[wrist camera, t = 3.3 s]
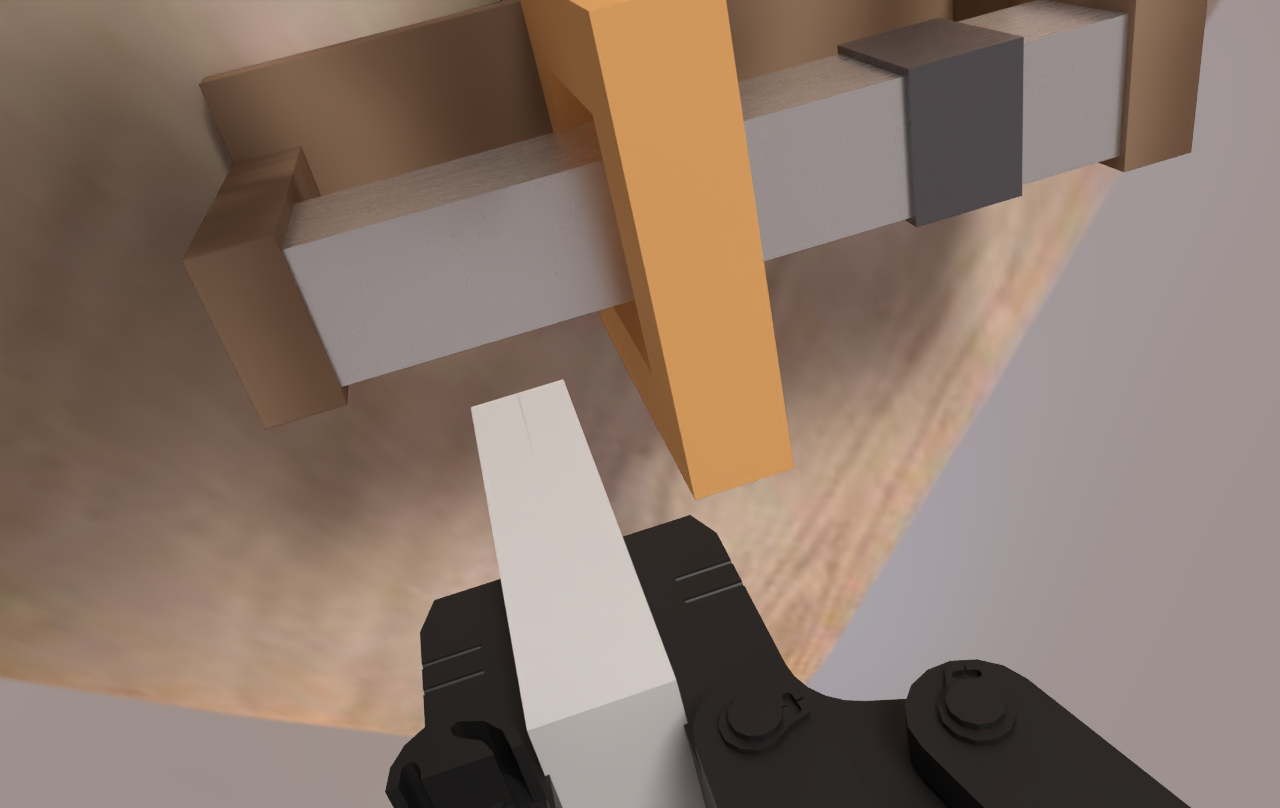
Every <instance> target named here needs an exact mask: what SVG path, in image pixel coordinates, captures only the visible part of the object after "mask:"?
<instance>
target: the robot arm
mask: <svg viewBox="0 0 1280 808" xmlns="http://www.w3.org/2000/svg"><path fill="white" fill-rule="evenodd" d="M471 412H472V418H473V423H474V429H475V435H476V441H477V446H478V452H479V458H480V464H481V469H482V475H483V481H484V486H485V492H486V498H487V504H488V509H489V515H490V521H491V527H492V532H493V538H494V544H495V550H496V555H497V561H498V567H499V573H500V578H501V579H499V580H496V581H493V582H490V583H486V584H483V585H480V586H477V587H474V588H471V589H468V590H465V591H462V592H459V593H456V594H452V595H449V596H446V597H443V598H440V599H437V600H434V602H433V605H432V607H431V609H430V611H429V614H428V616H427V618H426V620H425V623H424V625H423V627H422V629H421V632H420V638H421V657H422V665H423V669H422V677H423V690H424V693H425V695H423V696H424V715H425V728H424V729H422V730H421V731H420V732H419V733H418V734H417V735H416V736H415V737H413V738H412V739H411V740H410V741H409V742H408V743H407V744H406V745H405V746H404V747H403V749H402V750H401V752H400V754H399V755H398V757H397V758H396V760H395V761H394V763H393V765H392V766H391V768H390V772H389V776H388V782H387V786H386V791H385V792H386V794H387V796H388V798H389V800H390V802H391V803H392V805H393V807H394V808H1191V807H1189V806H1188V805H1187V804H1185V803H1184V802H1183V801H1182V800H1180V799H1179V798H1178V797H1176V796H1175V795H1174V794H1173V793H1171V792H1170V791H1169V790H1168V789H1166V788H1165V787H1164V786H1163V785H1161V784H1160V783H1159V782H1158V781H1156V780H1155V779H1154V778H1152V777H1151V776H1150V775H1149V774H1147V773H1146V772H1145V771H1143V770H1142V769H1141V768H1140V767H1138V766H1137V765H1136V764H1135V763H1133V762H1132V761H1131V760H1130V759H1128V758H1127V757H1126V756H1125V755H1123V754H1122V753H1121V752H1119V751H1118V750H1117V749H1116V748H1114V747H1113V746H1112V745H1111V744H1109V743H1108V742H1107V741H1106V740H1104V739H1103V738H1102V737H1100V736H1099V735H1098V734H1096V733H1095V732H1094V731H1093V730H1091V729H1090V728H1089V727H1088V726H1086V725H1085V724H1084V723H1083V722H1081V721H1080V720H1079V719H1077V718H1076V717H1075V716H1074V715H1073V714H1071V713H1070V712H1069V711H1067V710H1066V709H1065V708H1064V707H1062V706H1061V705H1060V704H1058V703H1057V702H1056V701H1055V700H1053V699H1052V698H1051V697H1049V696H1048V695H1047V694H1046V693H1045V692H1043V691H1042V690H1041V689H1039V688H1038V687H1037V686H1036V685H1034V684H1033V683H1032V682H1030V681H1029V680H1028V679H1027V678H1025V677H1023V676H1021V675H1020V674H1018V673H1016V672H1014V671H1012V670H1011V669H1009V668H1007V667H1005V666H1003V665H999V664H994V663H990V662H986V661H981V660H977V659H976V660H959V661H949V662H946V663H944V664H941V665H939V666H936V667H934V668H931V669H929V670H927V671H926V672H925V673H924V674H923V675H922V676H921V677H919V678H918V679H917V680H916V681H915V682H914V683H913V684H912V685H911V688H910V691H909V693H908V696H907V699H897V700H880V701H879V700H877V701H850V700H849V701H847V700H841V699H837V698H833V697H829V696H825V695H823V694H820V693H819V692H816V691H814V690H812V689H810V688H808V687H807V686H806V685H804V684H803V683H802V682H801V681H799V680H798V679H797V678H796V677H795V676H794V675H793V674H792V672H791V671H790V670H789V668H788V667H787V665H786V664H785V662H784V660H783V658H782V657H781V655H780V653H779V651H778V649H777V647H776V645H775V643H774V641H773V639H772V637H771V636H770V634H769V632H768V630H767V628H766V626H765V624H764V622H763V620H762V618H761V617H760V615H759V613H758V611H757V609H756V607H755V605H754V603H753V601H752V599H751V598H750V596H749V594H748V592H747V590H746V588H745V586H743V584H742V581H741V579H740V577H739V575H738V573H737V571H736V569H735V567H734V565H733V564H732V563H731V560H730V558H729V556H728V554H727V552H726V550H725V548H724V546H723V544H722V542H721V540H720V539H719V537H718V535H717V533H716V532H714V531H713V530H711V529H710V528H708V527H707V526H705V525H704V524H703V523H701V522H700V521H698V520H697V519H695V518H694V517H692V516H691V515H689V516H686V517H682V518H679V519H676V520H673V521H670V522H667V523H664V524H661V525H658V526H655V527H652V528H648V529H645V530H642V531H639V532H636V533H633V534H630V535H627V536H624V537H622V534H621V531H620V529H619V526H618V523H617V521H616V518H615V515H614V513H613V510H612V507H611V505H610V502H609V500H608V497H607V494H606V492H605V489H604V486H603V484H602V481H601V478H600V476H599V473H598V470H597V468H596V465H595V462H594V460H593V457H592V454H591V452H590V449H589V446H588V444H587V441H586V438H585V436H584V433H583V430H582V428H581V425H580V422H579V420H578V417H577V414H576V412H575V409H574V406H573V404H572V401H571V398H570V396H569V393H568V390H567V388H566V385H565V382H564V380H563V379H562V380H559V381H556V382H552V383H549V384H546V385H542V386H539V387H536V388H533V389H529V390H526V391H523V392H519V393H516V394H513V395H509V396H506V397H503V398H500V399H496V400H493V401H490V402H486V403H483V404H480V405H476V406H473V407H471Z"/></svg>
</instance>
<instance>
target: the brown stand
mask: <svg viewBox="0 0 1280 808" xmlns="http://www.w3.org/2000/svg"><path fill="white" fill-rule="evenodd" d="M1032 1H1035V0H726V3H727V10H728V17H729V24H730V31H731V38H732V45H733V51H734V58H735V65H736V72H737V79H738V82H740V81H744V80H747V79H751V78H755V77H758V76H762V75H765V74H769V73H773V72H776V71H780V70H784V69H787V68H791V67H795V66H798V65H802V64H806V63H809V62H813V61H817V60H820V59H824V58H827V57H831V56H835V55H838V49H837V45H840V44H843V43H847V42H851V41H854V40H858V39H862V38H865V37H869V36H873V35H876V34H880V33H884V32H887V31H891V30H895V29H898V28H902V27H906V26H909V25H913V24H917V23H920V22H924V21H928V20H931V19H935V18H942V19H947V20H951V21H955V22H959V21H962V20H966V19H970V18H973V17H977V16H981V15H984V14H988V13H992V12H995V11H999V10H1002V9H1006V8H1010V7H1013V6H1017V5H1021V4H1024V3H1028V2H1032ZM1050 1H1056V2H1063V3H1069V4H1075V5H1081V6H1087V7H1093V8H1100V9H1106V10H1112V11H1118V12H1124V13H1130V16H1129V31H1128V46H1127V61H1126V76H1125V91H1124V106H1123V121H1122V136H1121V150H1120V156H1118V157H1114V158H1111V159H1108V160H1104V161H1101V162H1098V163H1101V164H1104V165H1106V166H1109V167H1112V168H1114V169H1117V170H1120V171H1122V172H1127V171H1130V170H1133V169H1136V168H1140V167H1143V166H1147V165H1150V164H1153V163H1157V162H1160V161H1163V160H1167V159H1170V158H1173V157H1177V156H1180V155H1184V154H1186V153H1190V152H1191V148H1192V139H1193V129H1194V119H1195V111H1196V102H1197V91H1198V82H1199V73H1200V64H1201V55H1202V46H1203V36H1204V27H1205V18H1206V8H1207V0H1050ZM199 86H200V88H201V90H202V93H203V95H204V97H205V99H206V102H207V104H208V106H209V109H210V111H211V113H212V115H213V118H214V120H215V122H216V124H217V127H218V129H219V131H220V134H221V136H222V138H223V140H224V143H225V145H226V147H227V149H228V152H229V154H230V156H231V159H232V161H233V163H234V164H233V166H232V168H231V170H230V171H229V173H228V175H227V177H226V179H225V181H224V183H223V185H222V187H221V188H220V190H219V192H218V194H217V196H216V198H215V200H214V202H213V204H212V205H211V207H210V209H209V211H208V213H207V215H206V217H205V219H204V221H203V222H202V224H201V226H200V228H199V230H198V232H197V234H196V236H195V238H194V239H193V241H192V243H191V245H190V247H189V249H188V251H187V253H186V255H185V256H184V258H183V260H182V263H183V265H184V267H185V269H186V271H187V273H188V275H189V277H190V279H191V281H192V283H193V285H194V287H195V289H196V291H197V293H198V295H199V297H200V299H201V301H202V303H203V305H204V307H205V309H206V311H207V314H208V316H209V318H210V320H211V322H212V324H213V326H214V328H215V330H216V332H217V334H218V336H219V338H220V340H221V342H222V344H223V346H224V348H225V350H226V352H227V354H228V356H229V358H230V360H231V362H232V364H233V366H234V368H235V370H236V372H237V374H238V376H239V378H240V380H241V382H242V384H243V386H244V388H245V390H246V392H247V394H248V396H249V398H250V400H251V402H252V404H253V406H254V408H255V410H256V412H257V414H258V416H259V418H260V420H261V422H262V424H263V426H264V428H265V429H267V428H271V427H274V426H277V425H281V424H284V423H287V422H291V421H294V420H297V419H301V418H304V417H307V416H311V415H314V414H318V413H321V412H324V411H328V410H331V409H334V408H338V407H341V406H344V405H347V399H348V385H346V386H343V387H341V385H340V383H339V380H338V378H337V376H336V373H335V371H334V369H333V366H332V364H331V362H330V360H329V357H328V355H327V353H326V350H325V348H324V346H323V343H322V341H321V339H320V337H319V334H318V332H317V330H316V327H315V325H314V323H313V320H312V318H311V316H310V313H309V311H308V309H307V307H306V304H305V302H304V300H303V297H302V295H301V293H300V290H299V288H298V286H297V284H296V281H295V279H294V277H293V274H292V272H291V270H290V267H289V265H288V263H287V260H286V258H285V256H284V254H283V251H282V248H283V244H284V241H285V237H286V233H287V229H288V226H289V222H290V218H291V214H292V211H293V207H294V204H295V203H299V202H302V201H306V200H310V199H313V198H317V197H321V196H324V195H328V194H331V193H335V192H339V191H342V190H346V189H350V188H353V187H357V186H361V185H364V184H368V183H372V182H375V181H379V180H383V179H386V178H390V177H393V176H397V175H401V174H404V173H408V172H412V171H415V170H419V169H423V168H426V167H430V166H434V165H437V164H441V163H445V162H448V161H452V160H455V159H459V158H463V157H466V156H470V155H474V154H477V153H481V152H485V151H488V150H492V149H496V148H499V147H503V146H507V145H510V144H514V143H517V142H521V141H525V140H528V139H532V138H536V137H539V136H543V135H547V134H550V133H554V132H553V128H552V124H551V120H550V117H549V113H548V109H547V105H546V101H545V97H544V93H543V89H542V85H541V81H540V77H539V73H538V69H537V65H536V61H535V57H534V53H533V49H532V45H531V41H530V37H529V33H528V29H527V25H526V22H525V18H524V14H523V10H522V6H521V2H520V0H506V1H502V2H499V3H495V4H491V5H487V6H483V7H479V8H475V9H471V10H467V11H464V12H460V13H456V14H452V15H448V16H444V17H440V18H436V19H432V20H429V21H425V22H421V23H417V24H413V25H409V26H405V27H401V28H397V29H394V30H390V31H386V32H382V33H378V34H374V35H370V36H366V37H362V38H359V39H355V40H351V41H347V42H343V43H339V44H335V45H331V46H327V47H324V48H320V49H316V50H312V51H308V52H304V53H300V54H296V55H292V56H289V57H285V58H281V59H277V60H273V61H269V62H265V63H261V64H257V65H254V66H250V67H246V68H242V69H238V70H234V71H230V72H226V73H222V74H219V75H215V76H211V77H207V78H204V79H203V80H202V81H201V82H200V83H199Z"/></svg>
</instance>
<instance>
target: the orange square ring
mask: <svg viewBox="0 0 1280 808" xmlns="http://www.w3.org/2000/svg"><path fill="white" fill-rule="evenodd" d="M520 2H521V6H522V10H523V14H524V18H525V22H526V25H527V29H528V33H529V37H530V41H531V45H532V49H533V53H534V57H535V61H536V65H537V69H538V73H539V77H540V81H541V85H542V89H543V93H544V97H545V101H546V105H547V109H548V113H549V117H550V120H551V124H552V128H553V132H558V131H561V130H565V129H569V128H572V127H576V126H579V125H583V124H587V123H590V122H594V123H595V127H596V132H597V136H598V140H599V145H600V149H601V153H602V158H603V162H604V167H605V171H606V175H607V180H608V184H609V189H610V193H611V197H612V202H613V206H614V210H615V215H616V219H617V224H618V228H619V232H620V237H621V241H622V245H623V250H624V254H625V259H626V263H627V267H628V272H629V276H630V281H631V285H632V289H633V294H634V298H635V300H633V301H629V302H626V303H623V304H619V305H616V306H612V307H609V308H606V309H602V310H599V314H600V318H601V320H602V322H603V324H604V326H605V328H606V330H607V332H608V334H609V336H610V338H611V340H612V342H613V343H614V345H615V347H616V349H617V351H618V353H619V355H620V357H621V359H622V361H623V363H624V365H625V366H626V368H627V370H628V372H629V374H630V376H631V378H632V380H633V382H634V384H635V386H636V388H637V389H638V391H639V393H640V395H641V397H642V399H643V401H644V403H645V405H646V407H647V409H648V411H649V412H650V414H651V416H652V418H653V420H654V422H655V424H656V426H657V428H658V430H659V432H660V434H661V435H662V437H663V439H664V441H665V443H666V445H667V447H668V449H669V451H670V453H671V455H672V457H673V459H674V460H675V462H676V464H677V466H678V468H679V470H680V472H681V474H682V476H683V478H684V480H685V482H686V483H687V485H688V487H689V489H690V491H691V493H692V495H693V497H694V499H695V500H697V499H700V498H703V497H706V496H710V495H713V494H716V493H719V492H722V491H725V490H728V489H731V488H734V487H737V486H741V485H744V484H747V483H750V482H753V481H756V480H759V479H762V478H765V477H768V476H771V475H775V474H778V473H781V472H784V471H787V470H790V469H793V468H794V466H793V459H792V452H791V445H790V438H789V431H788V425H787V418H786V411H785V404H784V397H783V390H782V383H781V376H780V369H779V362H778V355H777V349H776V342H775V335H774V328H773V321H772V314H771V307H770V300H769V293H768V286H767V279H766V273H765V266H764V259H763V252H762V245H761V238H760V231H759V224H758V217H757V210H756V203H755V197H754V190H753V183H752V176H751V169H750V162H749V155H748V148H747V141H746V134H745V127H744V121H743V114H742V107H741V100H740V93H739V86H738V79H737V72H736V65H735V58H734V51H733V45H732V38H731V31H730V24H729V17H728V10H727V3H726V0H520Z"/></svg>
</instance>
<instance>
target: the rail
mask: <svg viewBox="0 0 1280 808" xmlns="http://www.w3.org/2000/svg"><path fill="white" fill-rule="evenodd" d="M1129 16H1130V13H1124V12H1118V11H1112V10H1106V9H1100V8H1093V7H1087V6H1081V5H1075V4H1069V3H1063V2H1056V1H1050V0H1035V1H1032V2H1028V3H1024V4H1021V5H1017V6H1013V7H1010V8H1006V9H1002V10H999V11H995V12H992V13H988V14H984V15H981V16H977V17H973V18H970V19H966V20H962V21H959V22H955V21H951V20H947V19H942V18H935V19H931V20H928V21H924V22H920V23H917V24H913V25H909V26H906V27H902V28H898V29H895V30H891V31H887V32H884V33H880V34H876V35H873V36H869V37H865V38H862V39H858V40H854V41H851V42H847V43H843V44H840V45H837V49H838V55H835V56H831V57H827V58H824V59H820V60H817V61H813V62H809V63H806V64H802V65H798V66H795V67H791V68H787V69H784V70H780V71H776V72H773V73H769V74H765V75H762V76H758V77H755V78H751V79H747V80H744V81H740V82H738V86H739V93H740V100H741V107H742V114H743V121H744V127H745V134H746V141H747V148H748V155H749V162H750V169H751V176H752V183H753V190H754V197H755V203H756V210H757V217H758V224H759V231H760V238H761V245H762V252H763V259H764V261H767V260H771V259H774V258H777V257H781V256H784V255H788V254H791V253H794V252H798V251H801V250H804V249H808V248H811V247H815V246H818V245H821V244H825V243H828V242H831V241H835V240H838V239H842V238H845V237H848V236H852V235H855V234H858V233H862V232H865V231H868V230H872V229H875V228H879V227H882V226H885V225H889V224H892V223H895V222H899V221H902V220H906V221H908V222H909V223H911V224H912V225H914V226H916V227H918V226H922V225H925V224H928V223H932V222H935V221H938V220H942V219H945V218H949V217H952V216H955V215H959V214H962V213H965V212H969V211H972V210H975V209H979V208H982V207H985V206H989V205H992V204H995V203H999V202H1002V201H1006V200H1009V199H1012V198H1016V197H1019V196H1022V185H1023V184H1027V183H1030V182H1034V181H1037V180H1040V179H1044V178H1047V177H1050V176H1054V175H1057V174H1060V173H1064V172H1067V171H1071V170H1074V169H1077V168H1081V167H1084V166H1087V165H1091V164H1094V163H1098V162H1101V161H1104V160H1108V159H1111V158H1114V157H1118V156H1120V150H1121V136H1122V121H1123V106H1124V91H1125V76H1126V61H1127V46H1128V31H1129ZM282 251H283V254H284V256H285V258H286V260H287V263H288V265H289V267H290V270H291V272H292V274H293V277H294V279H295V281H296V284H297V286H298V288H299V290H300V293H301V295H302V297H303V300H304V302H305V304H306V307H307V309H308V311H309V313H310V316H311V318H312V320H313V323H314V325H315V327H316V330H317V332H318V334H319V337H320V339H321V341H322V343H323V346H324V348H325V350H326V353H327V355H328V357H329V360H330V362H331V364H332V366H333V369H334V371H335V373H336V376H337V378H338V380H339V383H340V385H341V387H343V386H346V385H350V384H353V383H356V382H360V381H363V380H367V379H370V378H373V377H377V376H380V375H383V374H387V373H390V372H393V371H397V370H400V369H404V368H407V367H410V366H414V365H417V364H420V363H424V362H427V361H431V360H434V359H437V358H441V357H444V356H447V355H451V354H454V353H457V352H461V351H464V350H468V349H471V348H474V347H478V346H481V345H484V344H488V343H491V342H495V341H498V340H501V339H505V338H508V337H511V336H515V335H518V334H521V333H525V332H528V331H532V330H535V329H538V328H542V327H545V326H548V325H552V324H555V323H559V322H562V321H565V320H569V319H572V318H575V317H579V316H582V315H585V314H589V313H592V312H596V311H599V310H602V309H606V308H609V307H612V306H616V305H619V304H623V303H626V302H629V301H633V300H635V298H634V294H633V289H632V285H631V281H630V276H629V272H628V267H627V263H626V259H625V254H624V250H623V245H622V241H621V237H620V232H619V228H618V224H617V219H616V215H615V210H614V206H613V202H612V197H611V193H610V189H609V184H608V180H607V175H606V171H605V167H604V162H603V158H602V153H601V149H600V145H599V140H598V136H597V132H596V127H595V123H594V122H590V123H587V124H583V125H579V126H576V127H572V128H569V129H565V130H561V131H558V132H554V133H550V134H547V135H543V136H539V137H536V138H532V139H528V140H525V141H521V142H517V143H514V144H510V145H507V146H503V147H499V148H496V149H492V150H488V151H485V152H481V153H477V154H474V155H470V156H466V157H463V158H459V159H455V160H452V161H448V162H445V163H441V164H437V165H434V166H430V167H426V168H423V169H419V170H415V171H412V172H408V173H404V174H401V175H397V176H393V177H390V178H386V179H383V180H379V181H375V182H372V183H368V184H364V185H361V186H357V187H353V188H350V189H346V190H342V191H339V192H335V193H331V194H328V195H324V196H321V197H317V198H313V199H310V200H306V201H302V202H299V203H295V204H294V207H293V211H292V214H291V218H290V222H289V226H288V229H287V233H286V237H285V241H284V244H283V248H282Z"/></svg>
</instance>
